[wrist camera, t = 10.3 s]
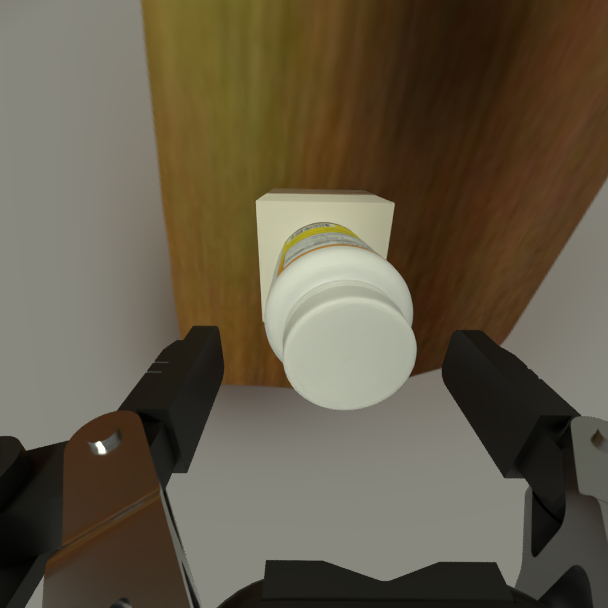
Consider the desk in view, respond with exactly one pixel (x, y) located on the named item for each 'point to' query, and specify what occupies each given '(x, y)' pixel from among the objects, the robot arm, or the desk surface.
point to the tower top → (312, 209)
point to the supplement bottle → (339, 319)
